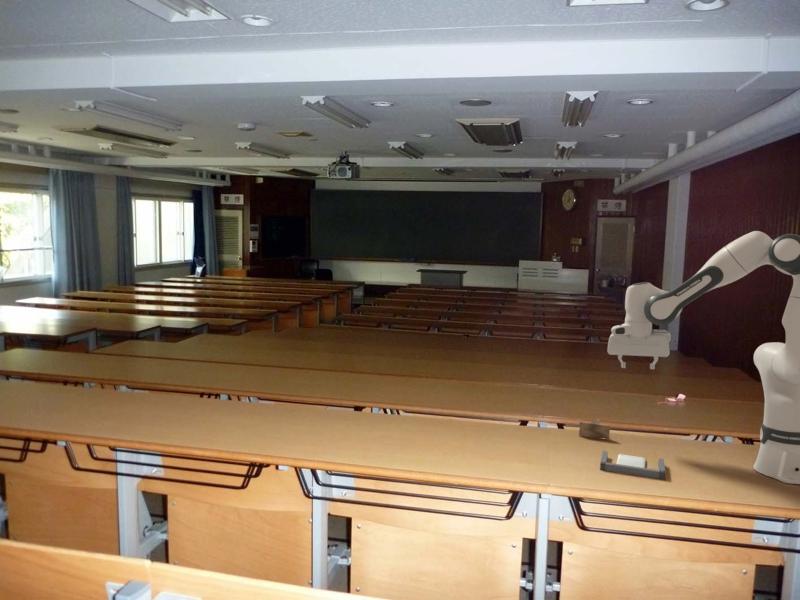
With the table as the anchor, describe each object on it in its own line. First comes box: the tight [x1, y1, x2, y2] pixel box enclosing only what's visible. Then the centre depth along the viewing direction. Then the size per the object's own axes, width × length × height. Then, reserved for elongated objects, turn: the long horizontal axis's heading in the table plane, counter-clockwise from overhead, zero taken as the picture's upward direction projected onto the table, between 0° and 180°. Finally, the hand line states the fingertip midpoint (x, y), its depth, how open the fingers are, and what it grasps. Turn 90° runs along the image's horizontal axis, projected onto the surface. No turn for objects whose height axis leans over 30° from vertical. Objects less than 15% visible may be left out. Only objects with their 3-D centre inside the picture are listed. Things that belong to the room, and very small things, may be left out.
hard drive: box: [615, 453, 646, 468], centre depth 190 cm, size 2×8×12 cm
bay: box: [599, 450, 666, 480], centre depth 187 cm, size 18×12×2 cm
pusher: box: [578, 418, 611, 440], centre depth 219 cm, size 10×7×5 cm
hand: (637, 368), depth 214 cm, fingers open, 8 cm apart
